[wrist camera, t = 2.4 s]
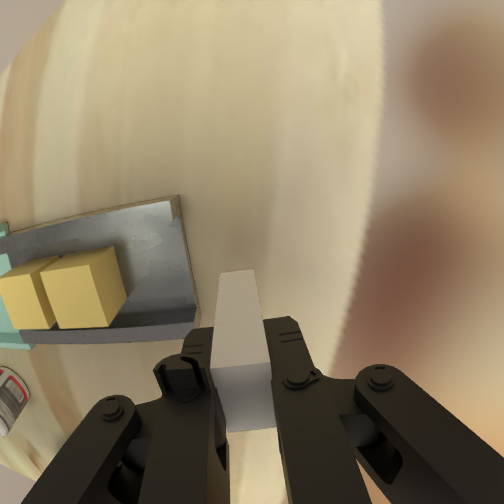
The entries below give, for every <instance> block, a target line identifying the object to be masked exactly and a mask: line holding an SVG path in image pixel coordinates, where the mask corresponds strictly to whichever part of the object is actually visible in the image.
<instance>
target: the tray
mask: <svg viewBox="0 0 504 504" xmlns="http://www.w3.org/2000/svg"><path fill="white" fill-rule="evenodd" d="M8 233H9V228H8V224H7V222H5V223H2V224H0V237H1V236H4V235H6V234H8ZM10 270H11V265H10V262H9V258H8V255H7V253H6V254H2V255H0V276H2V275H3V274H5V273H6V272H8V271H10ZM19 330H20V329H14V327H13V324H12V322H11V320H10V317H9V315H8V312H7V310H6V307H5V305H4V302H3V299H2V296H1V294H0V348H10V349H26V350H32V348H33V347H34V346H35V345H36V344H33V343H24V342H23V340H22V338H21V336H20V333H19Z"/></svg>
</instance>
